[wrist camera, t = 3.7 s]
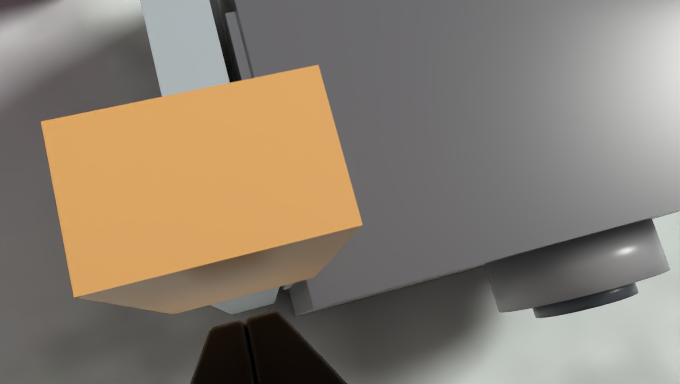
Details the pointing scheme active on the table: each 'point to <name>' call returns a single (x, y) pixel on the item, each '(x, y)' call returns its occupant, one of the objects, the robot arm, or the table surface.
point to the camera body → (488, 139)
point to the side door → (200, 180)
